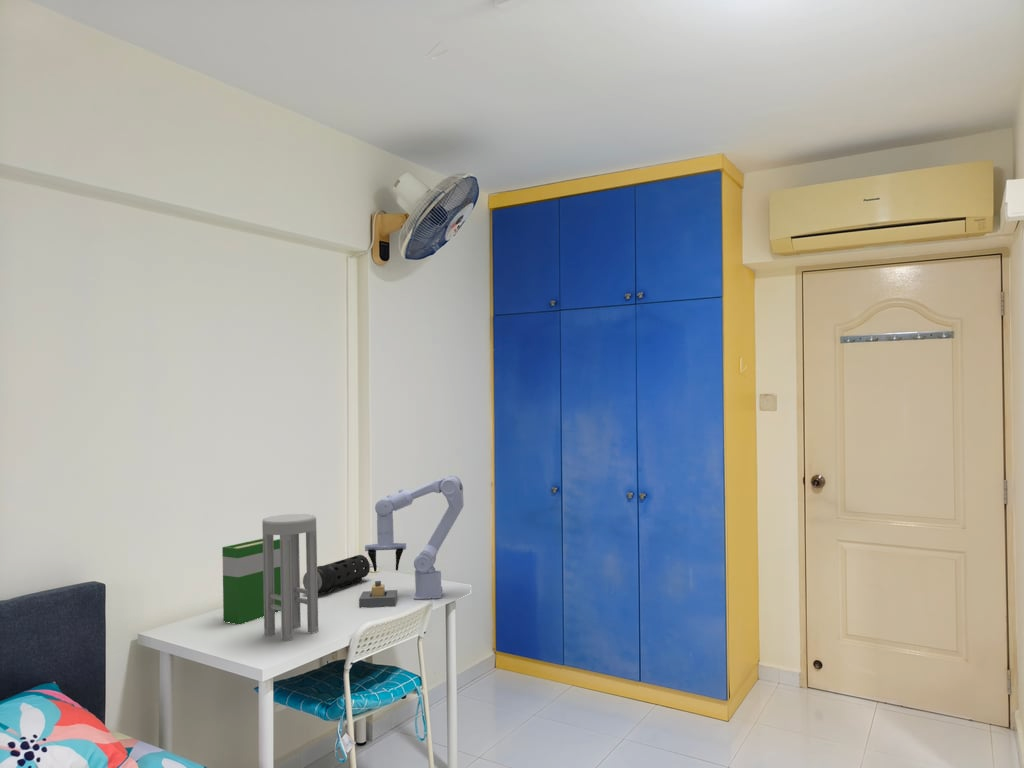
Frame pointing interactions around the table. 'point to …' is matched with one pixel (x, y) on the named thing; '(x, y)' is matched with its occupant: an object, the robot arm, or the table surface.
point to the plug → (378, 589)
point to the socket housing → (378, 599)
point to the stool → (290, 573)
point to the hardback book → (247, 581)
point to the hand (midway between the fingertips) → (386, 570)
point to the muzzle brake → (340, 573)
